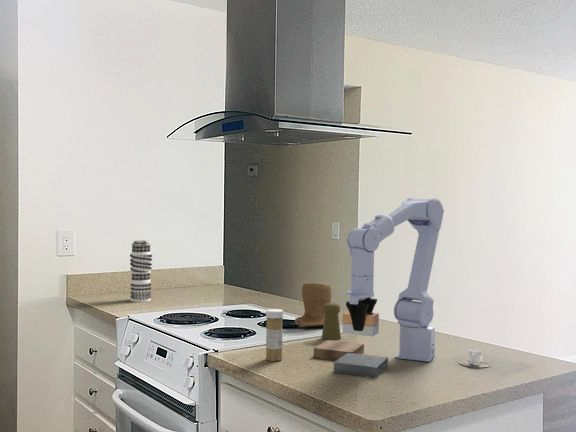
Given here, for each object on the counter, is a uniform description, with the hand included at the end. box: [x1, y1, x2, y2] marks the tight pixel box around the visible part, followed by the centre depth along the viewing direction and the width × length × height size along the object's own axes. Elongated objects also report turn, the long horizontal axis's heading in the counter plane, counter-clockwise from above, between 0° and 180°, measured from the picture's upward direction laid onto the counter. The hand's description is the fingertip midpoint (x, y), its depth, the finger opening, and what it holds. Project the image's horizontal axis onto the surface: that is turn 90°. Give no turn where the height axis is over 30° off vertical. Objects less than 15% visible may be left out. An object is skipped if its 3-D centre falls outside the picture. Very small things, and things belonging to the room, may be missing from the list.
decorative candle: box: [129, 240, 153, 303], centre depth 262 cm, size 9×9×25 cm
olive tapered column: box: [321, 302, 342, 341], centre depth 195 cm, size 6×6×11 cm
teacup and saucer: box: [467, 348, 483, 365], centre depth 166 cm, size 9×8×4 cm
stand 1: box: [313, 340, 365, 361], centre depth 174 cm, size 11×11×2 cm
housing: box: [341, 310, 380, 337], centre depth 159 cm, size 8×5×5 cm, turn 65°
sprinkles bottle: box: [265, 308, 284, 362], centre depth 167 cm, size 5×5×13 cm
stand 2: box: [333, 353, 389, 378], centre depth 159 cm, size 11×11×2 cm
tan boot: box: [294, 282, 332, 329], centre depth 214 cm, size 15×12×15 cm
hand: (361, 328), depth 159 cm, fingers closed on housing, 5 cm apart
